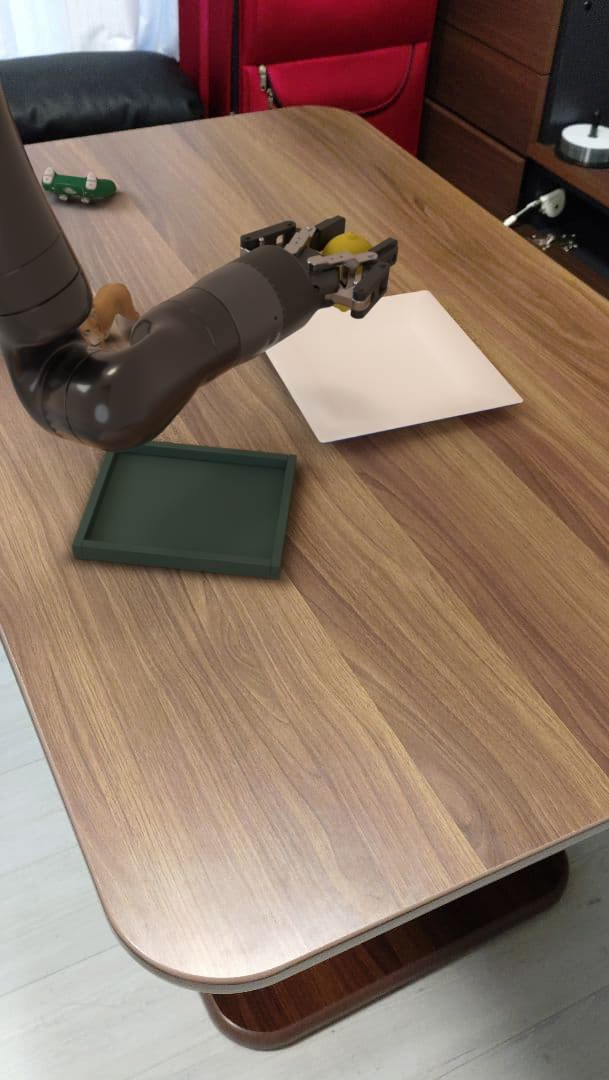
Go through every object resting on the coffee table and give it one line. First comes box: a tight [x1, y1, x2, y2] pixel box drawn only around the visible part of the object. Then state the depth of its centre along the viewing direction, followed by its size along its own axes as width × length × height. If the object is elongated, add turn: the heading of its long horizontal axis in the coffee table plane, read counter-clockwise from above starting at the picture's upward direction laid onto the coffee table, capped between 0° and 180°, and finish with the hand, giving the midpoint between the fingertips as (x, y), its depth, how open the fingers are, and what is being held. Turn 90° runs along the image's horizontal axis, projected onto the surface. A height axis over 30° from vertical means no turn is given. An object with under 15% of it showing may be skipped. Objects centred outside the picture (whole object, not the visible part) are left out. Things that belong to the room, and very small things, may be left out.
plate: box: [264, 289, 524, 445], centre depth 104 cm, size 22×22×2 cm
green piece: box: [41, 166, 117, 204], centre depth 127 cm, size 9×4×6 cm
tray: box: [71, 440, 298, 580], centre depth 87 cm, size 18×15×2 cm
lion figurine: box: [80, 282, 141, 349], centre depth 101 cm, size 15×5×9 cm, turn 169°
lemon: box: [321, 231, 373, 312], centre depth 89 cm, size 6×6×8 cm
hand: (366, 237), depth 89 cm, fingers closed on lemon, 5 cm apart
